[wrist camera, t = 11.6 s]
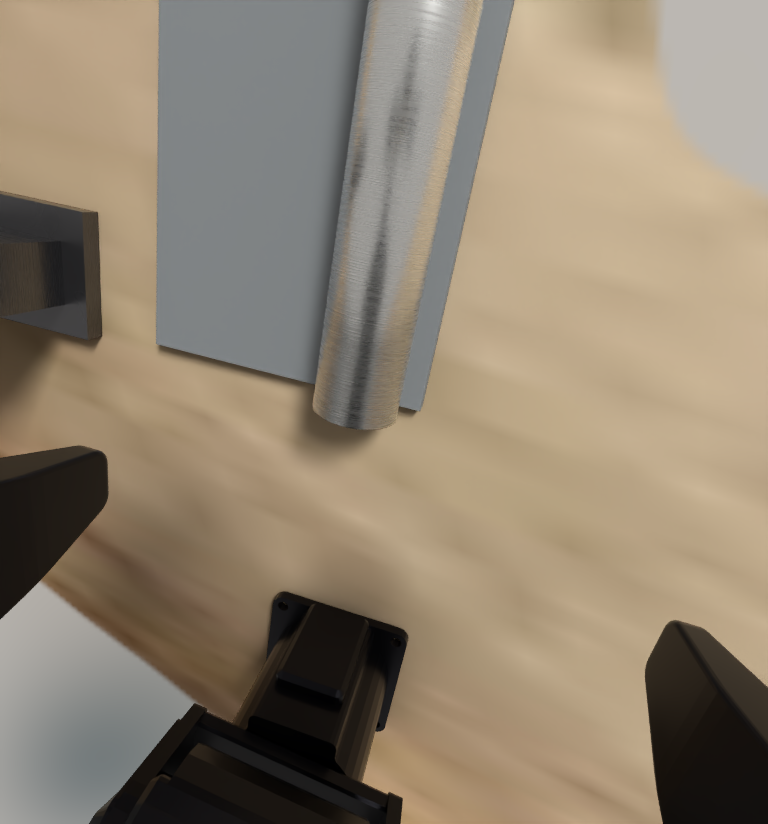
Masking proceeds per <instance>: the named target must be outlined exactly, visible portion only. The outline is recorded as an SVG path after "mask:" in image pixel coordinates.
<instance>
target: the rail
mask: <svg viewBox="0 0 768 824" xmlns="http://www.w3.org/2000/svg"><path fill="white" fill-rule="evenodd" d="M483 5H484V0H369V1H368V8H367V16H366V23H365V30H364V37H363V44H362V52H361V59H360V66H359V73H358V80H357V88H356V95H355V102H354V109H353V117H352V124H351V131H350V138H349V145H348V153H347V160H346V167H345V174H344V181H343V189H342V196H341V203H340V210H339V217H338V225H337V232H336V239H335V246H334V253H333V261H332V268H331V275H330V282H329V289H328V297H327V304H326V311H325V318H324V325H323V333H322V340H321V347H320V354H319V361H318V369H317V376H316V383H315V390H314V397H313V405H312V406H313V410H314V411H315V413H316V414H317V415H319V416H320V417H321V418H323V419H325V420H327V421H329V422H331V423H334V424H336V425H339V426H343V427H347V428H353V429H361V430H377V429H383V428H387V427H389V426H391V425H393V424H394V423H395V422H396V419H397V414H398V409H399V405H400V400H401V395H402V390H403V386H404V381H405V376H406V371H407V367H408V362H409V357H410V352H411V348H412V343H413V338H414V333H415V329H416V324H417V319H418V314H419V310H420V305H421V300H422V295H423V290H424V286H425V281H426V276H427V271H428V267H429V262H430V257H431V252H432V248H433V243H434V238H435V233H436V229H437V224H438V219H439V214H440V210H441V205H442V200H443V195H444V191H445V186H446V181H447V176H448V172H449V167H450V162H451V157H452V152H453V148H454V143H455V138H456V133H457V129H458V124H459V119H460V114H461V110H462V105H463V100H464V95H465V91H466V86H467V81H468V76H469V72H470V67H471V62H472V57H473V53H474V48H475V43H476V38H477V34H478V29H479V24H480V19H481V14H482V10H483Z"/></svg>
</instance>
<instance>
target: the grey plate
mask: <svg viewBox="0 0 768 824" xmlns="http://www.w3.org/2000/svg"><path fill="white" fill-rule="evenodd" d="M368 1H369V0H159V70H158V189H157V308H156V344H158V345H162V346H166V347H170V348H174V349H178V350H182V351H185V352H189V353H193V354H197V355H201V356H205V357H209V358H213V359H217V360H221V361H225V362H229V363H232V364H236V365H240V366H244V367H248V368H252V369H256V370H260V371H264V372H268V373H272V374H275V375H279V376H283V377H287V378H291V379H295V380H299V381H303V382H307V383H311V384H315V383H316V376H317V369H318V361H319V354H320V347H321V340H322V333H323V325H324V318H325V311H326V304H327V297H328V289H329V282H330V275H331V268H332V261H333V253H334V246H335V239H336V232H337V225H338V217H339V210H340V203H341V196H342V189H343V181H344V174H345V167H346V160H347V153H348V145H349V138H350V131H351V124H352V117H353V109H354V102H355V95H356V88H357V80H358V73H359V66H360V59H361V52H362V44H363V37H364V30H365V23H366V16H367V8H368ZM514 1H515V0H484V5H483V10H482V14H481V19H480V24H479V29H478V34H477V38H476V43H475V48H474V53H473V57H472V62H471V67H470V72H469V76H468V81H467V86H466V91H465V95H464V100H463V105H462V110H461V114H460V119H459V124H458V129H457V133H456V138H455V143H454V148H453V152H452V157H451V162H450V167H449V172H448V176H447V181H446V186H445V191H444V195H443V200H442V205H441V210H440V214H439V219H438V224H437V229H436V233H435V238H434V243H433V248H432V252H431V257H430V262H429V267H428V271H427V276H426V281H425V286H424V290H423V295H422V300H421V305H420V310H419V314H418V319H417V324H416V329H415V333H414V338H413V343H412V348H411V352H410V357H409V362H408V367H407V371H406V376H405V381H404V386H403V390H402V395H401V400H400V405H399V406H401V407H405V408H409V409H413V410H416V411H420V410H421V408H422V406H423V401H424V397H425V392H426V388H427V384H428V379H429V375H430V370H431V366H432V362H433V357H434V353H435V348H436V344H437V340H438V335H439V331H440V326H441V322H442V318H443V313H444V309H445V304H446V300H447V296H448V291H449V287H450V282H451V278H452V274H453V269H454V265H455V260H456V256H457V252H458V247H459V243H460V238H461V234H462V230H463V225H464V221H465V216H466V212H467V208H468V203H469V199H470V194H471V190H472V186H473V181H474V177H475V172H476V168H477V164H478V159H479V155H480V150H481V146H482V142H483V137H484V133H485V128H486V124H487V120H488V115H489V111H490V106H491V102H492V97H493V93H494V89H495V84H496V80H497V75H498V71H499V67H500V62H501V58H502V53H503V49H504V45H505V40H506V36H507V31H508V27H509V23H510V18H511V14H512V9H513V5H514Z"/></svg>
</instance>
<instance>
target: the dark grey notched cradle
mask: <svg viewBox="0 0 768 824" xmlns="http://www.w3.org/2000/svg"><path fill="white" fill-rule="evenodd" d="M0 317H1V318H5V319H9V320H12V321H16V322H20V323H24V324H28V325H32V326H36V327H39V328H43V329H47V330H51V331H55V332H59V333H63V334H66V335H70V336H74V337H78V338H82V339H86V340H90V339H93V338H97V337H100V336H102V326H101V296H100V267H99V237H98V212H94V211H89V210H85V209H80V208H76V207H71V206H67V205H62V204H58V203H53V202H48V201H44V200H39V199H35V198H30V197H26V196H21V195H17V194H12V193H7V192H3V191H0Z"/></svg>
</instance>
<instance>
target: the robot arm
mask: <svg viewBox="0 0 768 824" xmlns="http://www.w3.org/2000/svg"><path fill="white" fill-rule="evenodd" d="M107 499H108V462H107V458H106V455H105V454H104V453H103V452H101V451H99V450H95V449H92V448H88V447H85V446H72V447H66V448H60V449H53V450H47V451H41V452H34V453H28V454H22V455H16V456H9V457H3V458H0V619H1V618H2V617H3V616H4V615H5V614H6V613H8V612H9V611H10V610H11V609H12V608H13V607H14V606H15V605H16V604H17V603H18V602H19V601H20V600H21V599H22V598H23V597H24V596H25V595H26V594H27V593H28V592H29V591H30V590H31V589H32V588H33V587H34V586H35V585H36V584H37V583H38V582H39V581H40V580H41V579H42V578H43V577H44V576H45V575H46V574H47V572H48V571H49V570H50V569H51V568H52V567H53V566H54V565H55V563H56V562H57V561H58V560H59V559H60V558H61V557H62V555H63V554H64V553H65V552H66V551H67V550H68V548H69V547H70V546H71V545H72V544H73V543H74V542H75V540H76V539H77V538H78V537H79V536H80V535H81V534H82V532H83V531H84V530H85V529H86V528H87V527H88V525H89V524H90V523H91V522H92V521H93V520H94V519H95V517H96V516H97V515H98V514H99V513H100V512H101V510H102V509H103V508H104V506H105V504H106V502H107ZM283 602H285V603H286V604H287V605H286V604H284V603H283ZM394 638H397V639H399V640H395V639H394ZM407 642H408V635H407V633H406V632H405V631H404V630H403V629H401V628H398V627H395V626H392V625H389V624H385V623H382V622H379V621H376V620H373V619H370V618H367V617H363V616H360V615H357V614H354V613H351V612H348V611H345V610H341V609H338V608H335V607H332V606H329V605H326V604H323V603H319V602H316V601H313V600H310V599H307V598H304V597H301V596H297V595H294V594H291V593H288V592H281V593H279V594H278V595H277V597H276V598H275V600H274V603H273V609H272V617H271V625H270V633H269V641H268V649H267V657H266V663H265V664H264V666H263V668H262V670H261V672H260V674H259V675H258V677H257V679H256V681H255V683H254V685H253V686H252V688H251V690H250V692H249V694H248V695H247V697H246V699H245V701H244V703H243V705H242V706H241V708H240V710H239V712H238V714H237V716H236V717H235V719H234V721H233V723H231V722H228V721H226V720H224V719H222V718H220V717H217V716H215V715H213V714H211V713H209V712H207V708H204V707H202V706H200V705H198V704H196V703H194V704H193V706H192V707H191V708H190V709H189V710H188V712H187V713H186V714H185V715H184V717H183V718H182V719H181V720H180V719H178V720H177V721H176V722H175V723H174V725H173V726H172V727H171V728H170V729H169V731H168V732H167V733H166V734H165V736H164V737H163V738H162V739H161V741H160V742H159V743H158V744H157V746H156V747H155V748H154V749H153V750H152V752H151V753H150V754H149V755H148V756H147V758H146V759H145V760H144V761H143V763H142V764H141V765H140V766H139V768H138V769H137V770H136V771H135V772H134V774H133V775H132V776H131V777H130V779H129V780H128V781H127V782H126V783H125V785H124V786H123V787H122V788H121V790H120V791H119V792H118V793H117V794H115V795H114V796H113V797H112V798H111V799H110V800H109V801H108V802H107V803H106V804H105V805H104V806H103V807H102V808H101V809H99V810H98V811H97V813H96V814H95V815H94V816H93V818H92V820H91V821H90V823H89V824H400V823H401V812H402V801H403V798H401V797H399V796H397V795H395V794H393V793H390V792H389V793H388V794H386V793H384V792H381V791H379V790H377V789H375V788H373V787H370V786H368V785H366V784H364V783H362V780H363V776H364V772H365V769H366V765H367V761H368V757H369V753H370V749H371V745H372V742H373V738H374V734H375V731H377V732H378V731H382V730H384V728H385V725H386V721H387V717H388V713H389V710H390V706H391V702H392V698H393V695H394V691H395V687H396V683H397V680H398V676H399V672H400V668H401V665H402V661H403V657H404V653H405V650H406V646H407ZM645 683H646V693H647V703H648V713H649V723H650V733H651V743H652V753H653V763H654V773H655V781H656V788H657V795H658V800H659V806H660V811H661V816H662V821H663V824H768V687H767V686H766V685H765V684H763V683H762V682H761V681H760V680H759V679H758V678H757V677H756V676H755V675H754V674H753V673H752V672H751V671H749V670H748V669H747V668H746V667H745V666H744V665H743V664H742V663H741V662H740V661H739V660H738V659H737V658H735V657H734V656H733V655H732V654H731V653H730V652H729V651H728V650H727V649H726V648H725V647H724V646H722V645H721V644H720V643H719V642H718V641H717V640H716V639H715V638H714V637H713V636H712V635H711V634H710V633H708V632H707V631H706V630H705V629H703V628H701V627H698V626H695V625H691V624H688V623H685V622H681V621H678V620H674V621H670V622H669V623H668V624H667V625H666V626H665V628H664V630H663V632H662V634H661V635H660V637H659V639H658V641H657V643H656V645H655V647H654V649H653V651H652V653H651V655H650V657H649V659H648V661H647V664H646V669H645Z"/></svg>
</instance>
